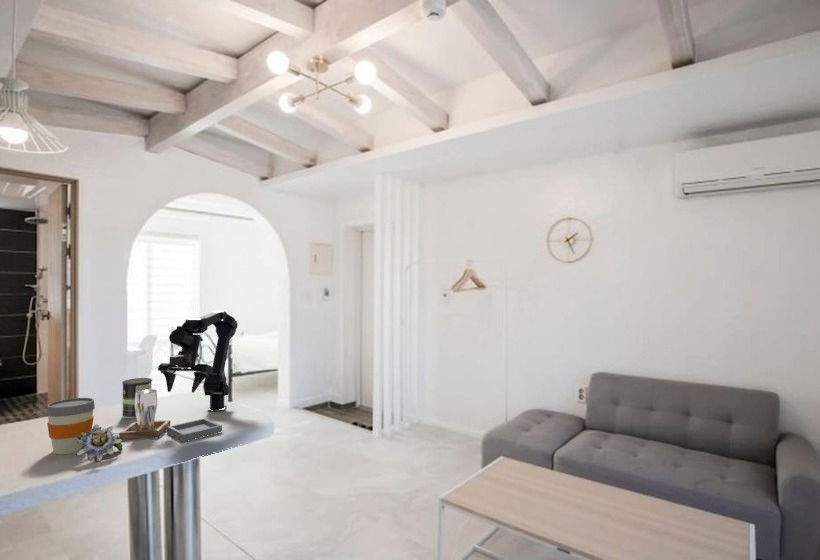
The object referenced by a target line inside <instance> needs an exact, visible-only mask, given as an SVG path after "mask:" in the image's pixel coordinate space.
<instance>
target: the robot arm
mask: <svg viewBox="0 0 820 560" xmlns="http://www.w3.org/2000/svg"><path fill="white" fill-rule="evenodd" d="M212 325H213V327H214V328H215V333H216V335H217V341H216V346H215V352H214V357H213V361H212V365H210V364H207V363H197V358H199V357H200V354H199V350H200V343H201V342H204V338H203V337H202V335H201V334H204V333H205V332H206V331H208V329H209V328H208V327H210V326H212ZM237 328H238V322H237V320H236V318H235V317H233V316H232V315H230V314H228V313H227V311H225V310H214V311H213V310H212V312H210V313H207V314H205V315H203V316H199V317H188V318H186V319H185V321H184V322H183V323H182V325H178V326H176V329H174V330H172V331H171V333H170V334H169V336H168V337H169V338H168V339H169V342H170V343H171V344H173V345H176V346H179V347H180V348H181V351H180V350H179V351H178V353H177V355H171V356H169V362H167V363H165V362H162V363H160V364H159V365H158V366H157V371H159V372H160V373H161V374H163V376H164V378H165V382H166V389H167V392H169V393H171V391H172V389H173V386H174V384H175V380H176V376H177V374H176V372H193V376H194V377H193V383H192V387H191V393H192V394H193V393H195V392H196V390H197V389H198V388H199V387H200V385H201V384H202V382H203V386H202V387H203V391H204V396H207V397H208V396H209V408H210V409H211V410H219V409H222V408H224V407H226V408H227V404H225V396H229V394H230V391H231V388H230V386H229V385H228V383H227V376H226V373H225V367H226V362H227V357H228V351H229V346H230V342H231V339H232V338H233V337H234V336H235V334H236V331H237ZM196 363H197V364H196Z"/></svg>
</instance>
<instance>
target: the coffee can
mask: <svg viewBox="0 0 820 560" xmlns="http://www.w3.org/2000/svg"><path fill="white" fill-rule="evenodd" d="M152 382H153V379H152V378H150V377H137V378H136V377H135V378H129V379H126V380H123V381H122V410H121V411H122V414H121V417H122V419H126V418H135V419H137V418H136V413H135V394H136V392H137V391H140V390H146V389H152Z"/></svg>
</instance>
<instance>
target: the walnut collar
mask: <svg viewBox="0 0 820 560" xmlns="http://www.w3.org/2000/svg"><path fill="white" fill-rule="evenodd" d="M154 425H155V430H145V431H137V430H136V429H137V421H133V422H132V423H131V424H129V425H128V426H126V428H124V429H123V430H121V431H120V432H118V433H119V435H118V437H119V438H120V439H121V440H122V441H129V440H133V441H134V440H147V439H159V438H161V436H162V435H163V434H164V433H166V432H167V431H166V430H167V427H168V426H171V419H165V420H155V421H154Z"/></svg>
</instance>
